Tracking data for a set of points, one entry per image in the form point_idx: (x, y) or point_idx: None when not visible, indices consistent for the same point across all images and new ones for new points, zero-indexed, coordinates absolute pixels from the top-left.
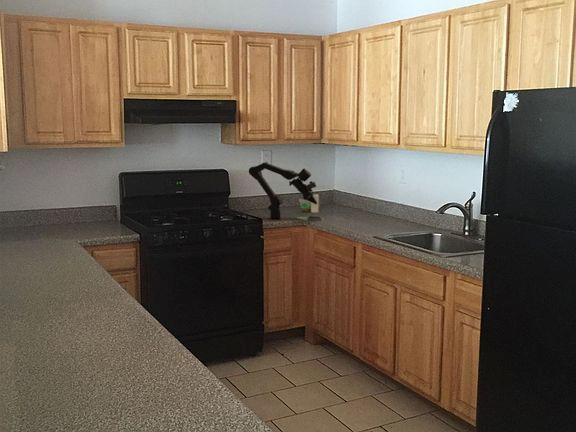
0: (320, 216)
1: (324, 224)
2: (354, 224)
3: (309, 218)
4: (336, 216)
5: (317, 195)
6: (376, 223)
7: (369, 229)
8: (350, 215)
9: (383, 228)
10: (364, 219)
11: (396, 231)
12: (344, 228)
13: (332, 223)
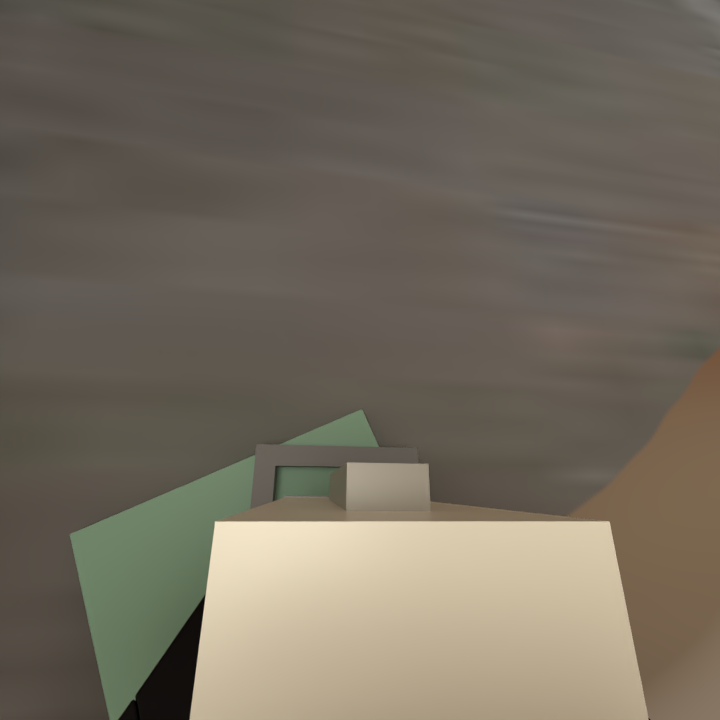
0: (265, 460)
1: (581, 422)
2: (516, 181)
3: None
4: (50, 271)
5: (607, 577)
6: (442, 51)
7: (679, 129)
8: (5, 138)
9: (616, 57)
10: (264, 80)
11: (683, 26)
12: (709, 269)
13: (508, 343)
